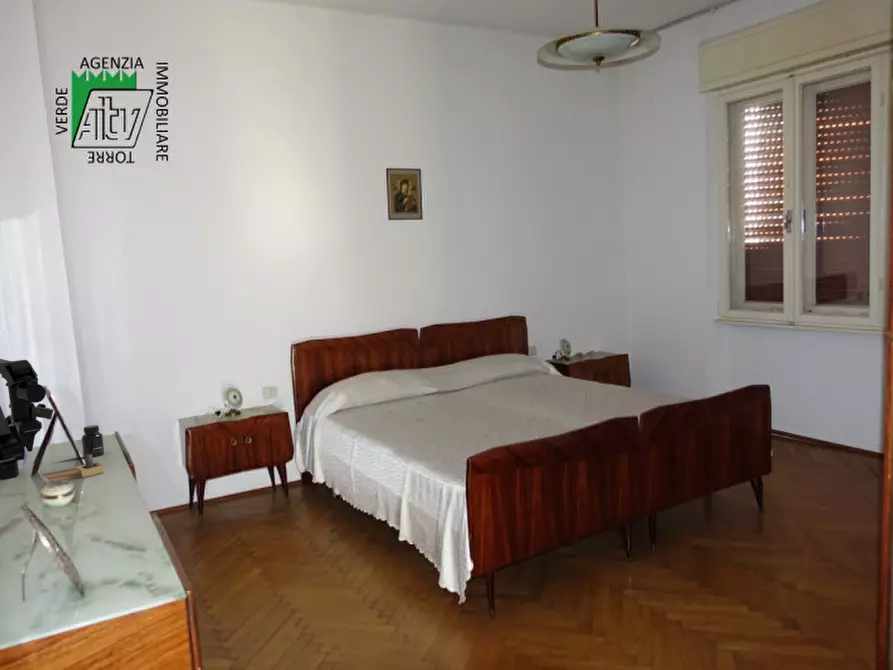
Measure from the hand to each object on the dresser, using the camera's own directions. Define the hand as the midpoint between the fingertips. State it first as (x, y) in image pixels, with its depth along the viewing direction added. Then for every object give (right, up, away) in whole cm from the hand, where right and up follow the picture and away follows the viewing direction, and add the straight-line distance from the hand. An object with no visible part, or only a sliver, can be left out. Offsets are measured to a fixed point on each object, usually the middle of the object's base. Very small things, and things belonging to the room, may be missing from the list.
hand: (26, 449), depth 220 cm
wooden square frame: (+17, -9, +5) cm, 20 cm away
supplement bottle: (+7, -9, +29) cm, 31 cm away
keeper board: (+11, -11, +7) cm, 17 cm away
